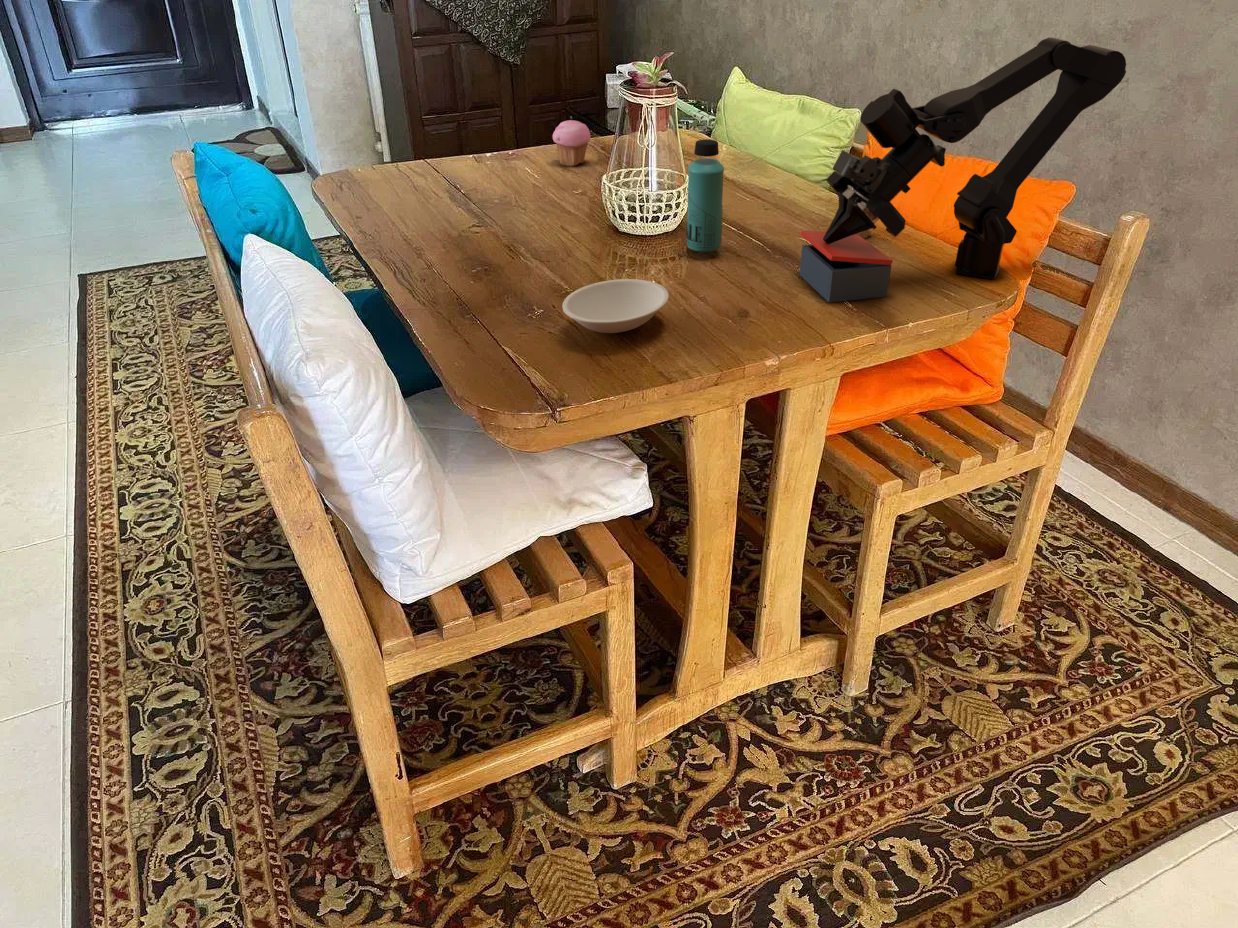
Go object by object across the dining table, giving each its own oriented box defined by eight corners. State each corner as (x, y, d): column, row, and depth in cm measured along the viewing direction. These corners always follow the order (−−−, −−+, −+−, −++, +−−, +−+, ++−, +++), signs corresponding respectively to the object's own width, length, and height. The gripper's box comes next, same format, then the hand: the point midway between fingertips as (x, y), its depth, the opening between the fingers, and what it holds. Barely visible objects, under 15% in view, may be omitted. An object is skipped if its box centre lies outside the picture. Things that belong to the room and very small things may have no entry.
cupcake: (570, 157, 224) (568, 114, 219) (598, 162, 220) (597, 119, 215) (547, 166, 218) (544, 122, 213) (576, 171, 214) (574, 126, 209)
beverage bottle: (726, 250, 168) (731, 137, 157) (713, 262, 163) (718, 147, 152) (693, 245, 171) (696, 134, 160) (679, 257, 166) (682, 143, 155)
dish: (620, 300, 149) (619, 271, 147) (689, 324, 141) (690, 293, 139) (542, 336, 138) (540, 305, 136) (612, 363, 130) (612, 331, 128)
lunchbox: (828, 303, 147) (832, 271, 144) (799, 274, 158) (802, 245, 155) (887, 296, 149) (891, 265, 146) (853, 269, 159) (857, 239, 157)
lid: (830, 260, 143) (832, 256, 143) (800, 234, 154) (801, 230, 153) (891, 265, 146) (892, 260, 146) (857, 239, 156) (858, 234, 156)
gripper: (844, 119, 148) (774, 193, 152) (898, 147, 133) (818, 228, 137) (882, 165, 154) (813, 235, 158) (938, 197, 138) (861, 274, 142)
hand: (825, 241), depth 148 cm, fingers closed, pressing on lid
